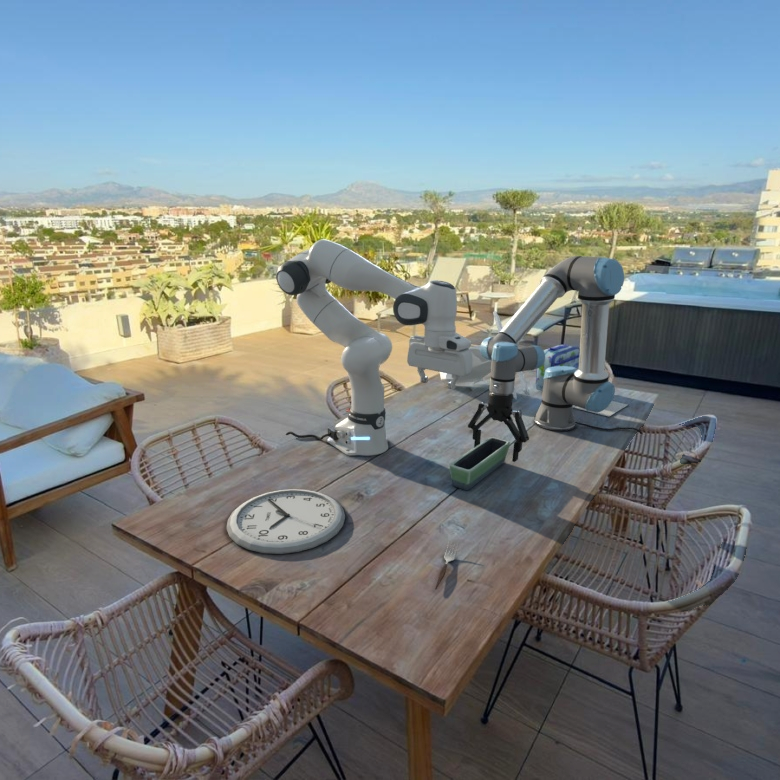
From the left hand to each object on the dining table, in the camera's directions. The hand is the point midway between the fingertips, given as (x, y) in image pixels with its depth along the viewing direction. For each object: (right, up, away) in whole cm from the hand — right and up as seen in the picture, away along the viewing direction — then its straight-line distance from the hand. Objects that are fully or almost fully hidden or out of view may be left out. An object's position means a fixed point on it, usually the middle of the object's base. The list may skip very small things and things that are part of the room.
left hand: (437, 385), depth 153 cm
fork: (-2, -42, -36) cm, 55 cm away
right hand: (+20, -22, +17) cm, 35 cm away
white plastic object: (+28, -3, +90) cm, 94 cm away
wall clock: (-41, -35, -18) cm, 57 cm away
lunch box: (+65, -1, +97) cm, 117 cm away
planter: (+14, -27, +10) cm, 32 cm away
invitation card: (+78, -9, +73) cm, 107 cm away
